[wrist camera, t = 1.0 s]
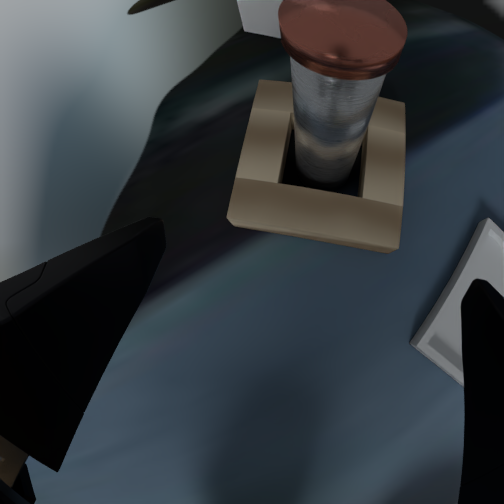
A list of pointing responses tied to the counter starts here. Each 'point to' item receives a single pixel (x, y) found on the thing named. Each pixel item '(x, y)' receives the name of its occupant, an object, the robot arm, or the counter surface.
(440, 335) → the tray
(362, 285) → the counter surface
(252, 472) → the counter surface
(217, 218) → the counter surface
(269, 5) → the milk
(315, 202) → the socket block
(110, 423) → the counter surface
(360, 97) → the silver and brown cylinder
